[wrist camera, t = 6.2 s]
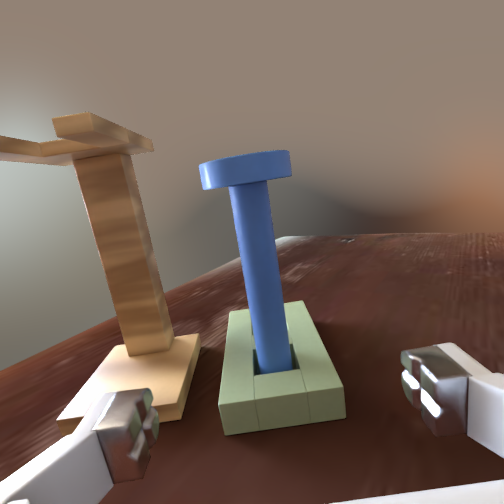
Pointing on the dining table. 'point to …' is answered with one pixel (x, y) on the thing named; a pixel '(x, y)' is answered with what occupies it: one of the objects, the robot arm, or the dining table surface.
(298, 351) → the holder
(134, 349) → the stand
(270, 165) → the peg
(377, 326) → the dining table surface
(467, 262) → the dining table surface
